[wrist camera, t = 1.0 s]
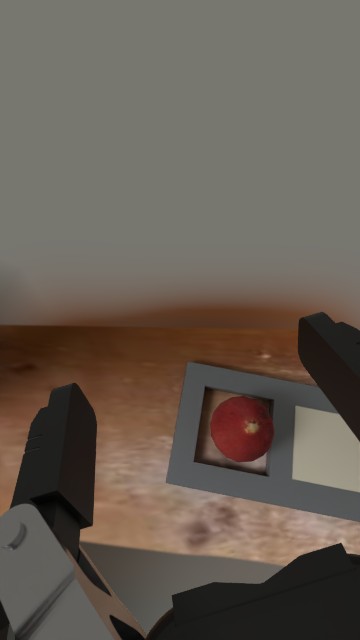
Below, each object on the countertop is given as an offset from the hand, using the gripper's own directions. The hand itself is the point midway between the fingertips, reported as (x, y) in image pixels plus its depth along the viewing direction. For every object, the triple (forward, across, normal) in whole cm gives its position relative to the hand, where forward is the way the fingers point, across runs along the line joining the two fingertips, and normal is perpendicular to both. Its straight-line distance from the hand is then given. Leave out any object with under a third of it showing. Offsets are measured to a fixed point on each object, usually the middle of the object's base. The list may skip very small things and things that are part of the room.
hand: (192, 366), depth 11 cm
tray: (+9, -6, +23) cm, 26 cm away
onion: (+11, -3, +22) cm, 24 cm away
